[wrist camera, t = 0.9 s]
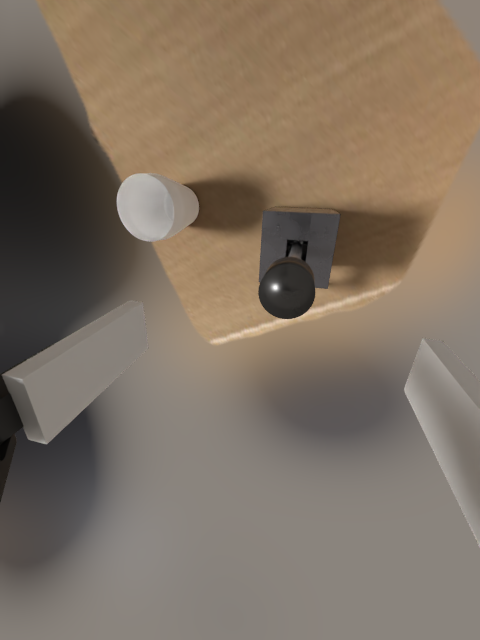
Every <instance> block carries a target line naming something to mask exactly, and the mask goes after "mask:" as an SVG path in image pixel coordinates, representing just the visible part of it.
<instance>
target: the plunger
mask: <svg viewBox="0 0 480 640" xmlns="http://www.w3.org/2000/svg"><path fill="white" fill-rule="evenodd" d="M307 246H308V241H301V240H287V249H286V257H283V258H280V259H278V260H276V261H275V262H273V263H272V264H271V265H270V267H269V268H268V270H267V271H266V273H265V275H264V277H263V278H262V280H261V282H260V285H259V299H260V302H261V304H262V306H263V307H264V308H265V310H266V311H267V312H269V313H270V314H271V315H273V316H275V317H278V318H282V319H292V318H296V317H299V316H301V315H303V314H304V313H305V312H307V311H308V310H309V308H310V307H311V306H312V304H313V301H314V298H315V280H314V274H313V271H312V269H311V267H310V266H309V265H308V264H307V263H306V262H305V261H303V260H306V254H307Z"/></svg>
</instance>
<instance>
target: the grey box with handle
mask: <svg viewBox="0 0 480 640" xmlns="http://www.w3.org/2000/svg"><path fill="white" fill-rule="evenodd" d="M340 215H341V214H339V213H338V212H336V211H335V210H333V209H321V208H296V207H273V208H270V209H267V210H264V211H263V221H262V237H261V254H260V271H259V282H261V280H262V278H263V277H264V275H265V273H266V271H267V270H268V268H269V267H270V265H271V264H272V263H273V262H275V261H276V260H278V259H280V258H283V257H286V249H287V240H301V241H308V246H307V254H306V260H303V261H305V262H306V263H307V264H308V265H309V266H310V267H311V269H312V271H313V274H314V280H315V288H324V289H328V284H329V278H330V272H331V266H332V261H333V255H334V249H335V243H336V238H337V232H338V226H339V220H340Z"/></svg>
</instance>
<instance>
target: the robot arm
mask: <svg viewBox="0 0 480 640" xmlns="http://www.w3.org/2000/svg"><path fill="white" fill-rule="evenodd" d="M148 348H149V347H148V340H147V331H146V323H145V315H144V307H143V302H137V301H128V302H126V303H125V304H123V305H121V306H119V307H118V308H116V309H114V310H113V311H111V312H109V313H107V314H106V315H104V316H102V317H100V318H99V319H97V320H95V321H93V322H92V323H90V324H88V325H87V326H85V327H83V328H81V329H80V330H79V331H76V332H75V333H73V334H72V335H70V336H68V337H66V338H64V339H62V340H61V341H59V342H57V343H56V344H53V345H50V346H48V347H46V348H45V349H43V350H41V351H40V352H38V354H34V355H33V356H31V357H29V358H28V360H27V359H26V360H24V361H22V362H20V363H19V364H17V365H15V366H13V367H12V368H10V369H8V370H7V371H5V372H3V373H1V374H0V502H1V498H2V495H3V491H4V487H5V483H6V480H7V476H8V472H9V469H10V465H11V462H12V458H13V454H14V450H15V447H16V443H17V441H16V436H15V433H16V432H17V431H18V430H20V429H21V428H22V427H23V428H24V430H25V433H26V435H27V437H28V439H29V440H32V441H36V442H40V443H44V444H48V442H50V441H51V440H52V439H53V438H54V437H55V436H56V435H57V434H58V433H59V432H60V431H61V430H62V429H63V428H64V427H65V426H66V425H68V424H69V423H70V422H71V421H72V420H73V419H74V418H75V417H76V416H77V415H78V414H79V413H80V412H81V411H82V410H84V409H85V408H86V407H87V406H88V405H89V404H90V403H91V402H92V401H93V400H94V399H95V398H96V397H97V396H98V395H99V394H101V393H102V392H103V391H104V390H105V389H106V388H107V387H108V386H109V385H110V384H111V383H112V382H113V381H114V380H115V379H116V378H117V377H119V376H120V375H121V373H123V372H124V371H125V370H126V369H127V368H128V367H129V366H130V365H131V364H132V363H133V362H134V361H135V360H137V359H138V358H139V357H140V356H141V355H142V354H143V353H144V352H145V351H146V350H147V349H148ZM404 391H405V394H406V396H407V397H408V400H409V402H410V404H411V406H412V408H413V410H414V412H415V414H416V416H417V418H418V420H419V423H420V424H421V427H422V429H423V431H424V433H425V435H426V437H427V439H428V441H429V443H430V445H431V447H432V449H433V452H434V453H435V456H436V458H437V460H438V462H439V464H440V466H441V468H442V470H443V472H444V474H445V476H446V478H447V481H448V482H449V485H450V487H451V489H452V491H453V493H454V495H455V497H456V499H457V501H458V503H459V505H460V507H461V509H462V512H463V513H464V516H465V518H466V520H467V522H468V524H469V526H470V528H471V530H472V532H473V534H474V536H475V538H476V541H477V542H478V545H479V547H480V381H479V380H478V378H477V377H476V376H475V375H474V374H473V373H472V372H471V371H470V370H469V369H468V368H467V367H466V365H465V364H464V363H463V362H462V361H461V360H460V359H459V358H458V357H457V356H456V355H455V353H454V352H453V351H452V350H451V349H450V348H449V347H448V346H447V345H446V344H445V342H444V341H440V340H433V339H425V338H423V339H422V342H421V344H420V347H419V350H418V353H417V355H416V358H415V361H414V363H413V366H412V369H411V372H410V374H409V377H408V380H407V383H406V385H405V388H404Z"/></svg>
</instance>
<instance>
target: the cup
mask: <svg viewBox="0 0 480 640" xmlns="http://www.w3.org/2000/svg"><path fill="white" fill-rule="evenodd" d="M117 209H118V213H119V216H120V219H121V221H122V223H123V224H124V226H125V227H126V229H127V230H128V231H129V232H130V233H131V234H132V235H134V236H135V237H137V238H138V239H141V240H144V241H150V242H151V241H158V240H165V239H168V238H170V237H172V236H174V235H176V234H177V233H178V232H180V231H181V230H183V229H184V228H186V227H187V226H188V225H190V224H191V223H193V222H194V221H195V219H196V218H197V216H198V212H199V203H198V199H197V197H196V195H195V193H194V192H193V191H192V190H191V189H190V188H188V187H186V186H184V185H182V184H180V183H178V182H176V181H173V180H171V179H169V178H167V177H165V176H162V175H159V174H154V173H148V174H143V173H139V174H134V175H131V176H129V177H128V178H127V179H125V180H124V182H123V183H122V184H121V186H120V188H119V191H118V195H117Z"/></svg>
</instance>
